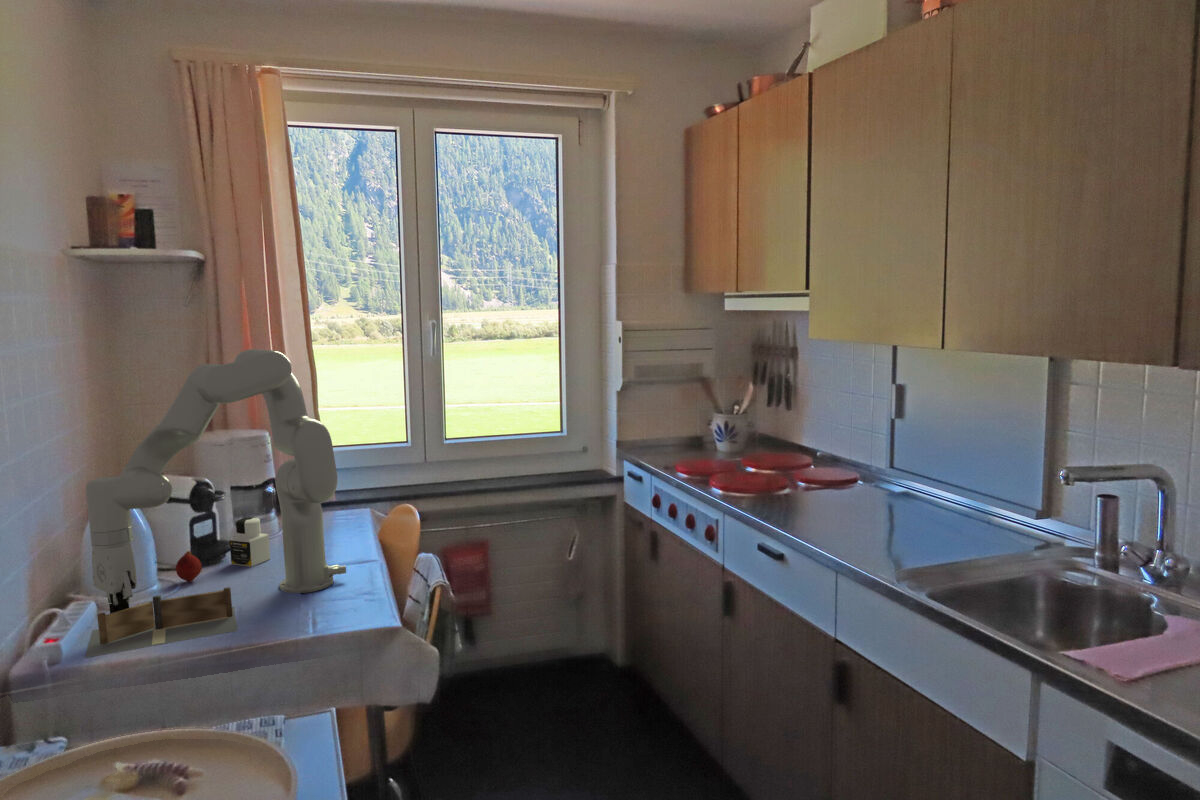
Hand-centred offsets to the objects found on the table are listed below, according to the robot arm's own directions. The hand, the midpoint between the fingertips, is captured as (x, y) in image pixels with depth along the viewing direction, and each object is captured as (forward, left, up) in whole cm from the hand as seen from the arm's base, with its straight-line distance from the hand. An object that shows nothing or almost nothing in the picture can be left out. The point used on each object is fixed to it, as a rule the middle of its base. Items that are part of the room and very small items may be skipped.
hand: (120, 620), depth 179 cm
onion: (-13, -33, -4) cm, 35 cm away
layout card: (-8, +1, -4) cm, 9 cm away
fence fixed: (-14, -1, -3) cm, 14 cm away
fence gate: (-1, +2, -3) cm, 4 cm away
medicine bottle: (-28, -43, -4) cm, 51 cm away
